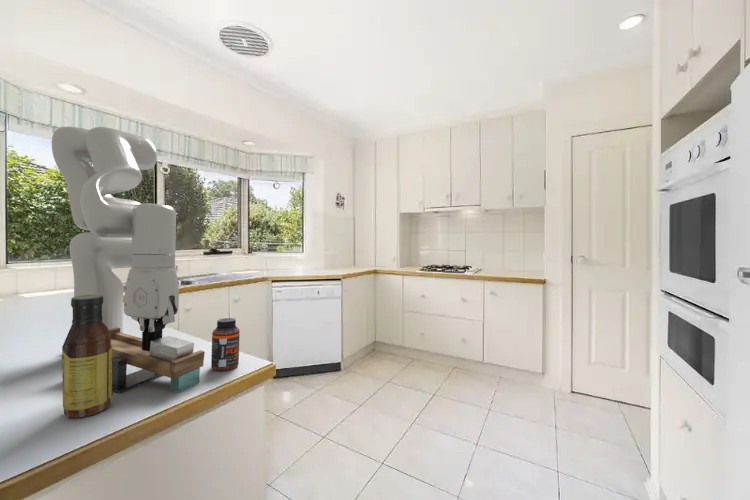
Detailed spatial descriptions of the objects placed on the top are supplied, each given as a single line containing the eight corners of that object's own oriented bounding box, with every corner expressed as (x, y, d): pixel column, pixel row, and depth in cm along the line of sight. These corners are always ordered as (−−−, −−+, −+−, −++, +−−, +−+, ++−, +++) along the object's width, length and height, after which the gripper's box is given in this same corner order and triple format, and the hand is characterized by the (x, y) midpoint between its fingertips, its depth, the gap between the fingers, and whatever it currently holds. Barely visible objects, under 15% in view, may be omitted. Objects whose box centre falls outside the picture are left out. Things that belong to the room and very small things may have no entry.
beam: (77, 360, 67) (79, 335, 67) (116, 349, 74) (118, 326, 74) (170, 392, 60) (173, 363, 60) (203, 376, 67) (206, 350, 67)
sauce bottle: (84, 401, 56) (86, 292, 56) (120, 401, 57) (122, 293, 57) (49, 422, 50) (51, 298, 50) (91, 421, 50) (93, 299, 50)
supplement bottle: (227, 373, 71) (228, 323, 71) (205, 370, 72) (206, 321, 72) (244, 363, 77) (245, 317, 76) (222, 361, 78) (223, 316, 78)
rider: (148, 360, 64) (150, 340, 64) (166, 353, 68) (168, 335, 67) (175, 368, 62) (177, 348, 62) (192, 361, 66) (194, 342, 66)
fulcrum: (61, 381, 64) (61, 353, 64) (126, 360, 77) (127, 336, 77) (159, 401, 57) (159, 370, 57) (214, 374, 70) (214, 348, 70)
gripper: (109, 262, 64) (107, 350, 65) (164, 265, 60) (162, 359, 60) (144, 260, 72) (143, 340, 72) (196, 263, 67) (195, 347, 68)
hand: (152, 348), depth 66 cm, fingers closed
